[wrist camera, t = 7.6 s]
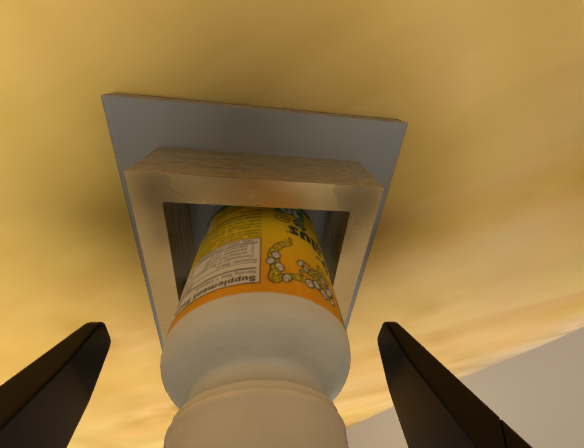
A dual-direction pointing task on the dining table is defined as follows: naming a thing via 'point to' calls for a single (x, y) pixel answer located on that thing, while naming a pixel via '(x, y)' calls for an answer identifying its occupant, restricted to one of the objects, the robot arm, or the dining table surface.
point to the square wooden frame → (246, 192)
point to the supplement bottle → (257, 338)
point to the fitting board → (248, 146)
